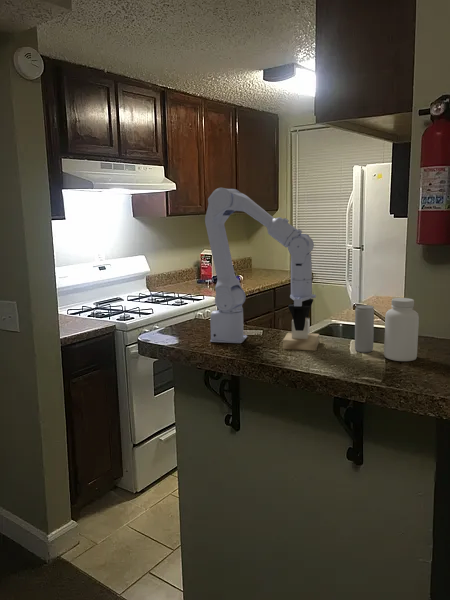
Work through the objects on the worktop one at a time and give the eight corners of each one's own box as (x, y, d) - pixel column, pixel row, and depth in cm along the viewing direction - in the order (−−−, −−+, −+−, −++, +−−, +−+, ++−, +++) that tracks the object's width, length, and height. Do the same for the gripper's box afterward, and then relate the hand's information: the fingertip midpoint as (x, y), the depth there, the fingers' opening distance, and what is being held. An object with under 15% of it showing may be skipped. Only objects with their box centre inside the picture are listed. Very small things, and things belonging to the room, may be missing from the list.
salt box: (291, 338, 141) (291, 319, 140) (294, 334, 145) (294, 316, 144) (307, 339, 139) (307, 320, 139) (309, 335, 144) (309, 317, 143)
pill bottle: (423, 360, 125) (426, 301, 123) (393, 363, 124) (395, 302, 122) (407, 352, 133) (409, 295, 131) (378, 354, 132) (379, 297, 129)
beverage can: (369, 354, 132) (370, 308, 130) (351, 351, 135) (352, 307, 133) (375, 349, 136) (377, 305, 134) (358, 347, 139) (359, 304, 137)
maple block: (282, 350, 140) (282, 340, 139) (287, 342, 148) (287, 332, 148) (315, 352, 137) (315, 341, 137) (318, 343, 146) (319, 333, 145)
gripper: (313, 282, 132) (312, 333, 134) (318, 275, 145) (318, 322, 148) (286, 282, 133) (286, 332, 136) (293, 275, 147) (294, 321, 150)
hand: (301, 327), depth 142 cm, fingers open, 7 cm apart
